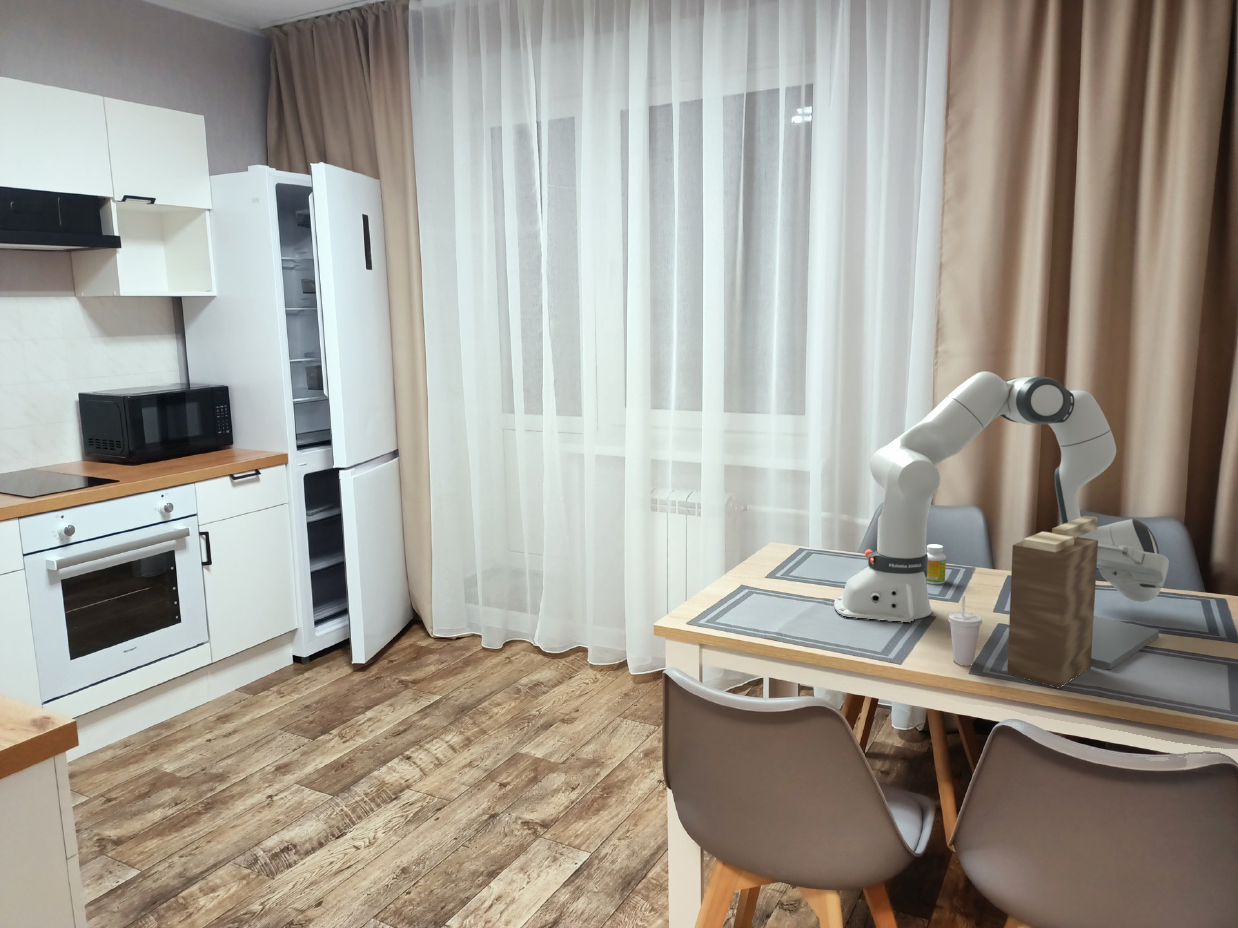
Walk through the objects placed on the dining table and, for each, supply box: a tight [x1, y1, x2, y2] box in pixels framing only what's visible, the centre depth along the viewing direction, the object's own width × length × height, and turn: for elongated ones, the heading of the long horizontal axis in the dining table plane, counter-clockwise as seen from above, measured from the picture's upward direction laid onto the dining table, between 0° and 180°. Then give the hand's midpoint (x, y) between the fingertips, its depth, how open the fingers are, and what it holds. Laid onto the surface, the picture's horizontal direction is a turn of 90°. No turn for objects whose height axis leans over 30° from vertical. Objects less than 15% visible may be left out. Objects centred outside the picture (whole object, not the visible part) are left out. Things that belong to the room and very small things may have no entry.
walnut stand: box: [1006, 537, 1098, 689], centre depth 173 cm, size 14×10×26 cm
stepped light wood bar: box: [1022, 515, 1098, 552], centre depth 174 cm, size 23×6×2 cm, turn 131°
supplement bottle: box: [926, 543, 947, 585], centre depth 234 cm, size 5×5×10 cm
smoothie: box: [948, 595, 983, 666], centre depth 180 cm, size 6×6×14 cm
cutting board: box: [1091, 615, 1160, 671], centre depth 189 cm, size 26×16×2 cm, turn 131°
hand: (1102, 546), depth 187 cm, fingers open, 8 cm apart
